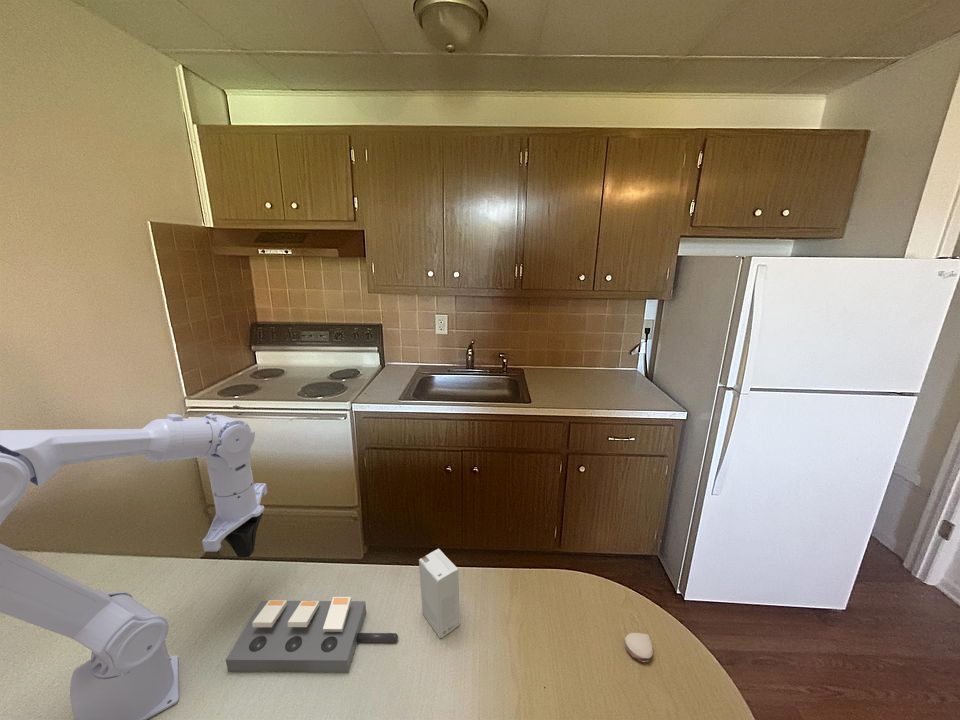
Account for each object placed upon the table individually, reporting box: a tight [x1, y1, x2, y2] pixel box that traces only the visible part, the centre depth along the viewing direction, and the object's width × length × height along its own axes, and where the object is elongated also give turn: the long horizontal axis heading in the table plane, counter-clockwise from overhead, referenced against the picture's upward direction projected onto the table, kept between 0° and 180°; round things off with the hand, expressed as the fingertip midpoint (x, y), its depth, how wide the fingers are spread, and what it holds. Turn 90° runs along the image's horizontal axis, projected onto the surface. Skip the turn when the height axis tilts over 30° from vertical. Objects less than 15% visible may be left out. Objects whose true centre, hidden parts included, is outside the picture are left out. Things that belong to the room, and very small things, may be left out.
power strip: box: [225, 599, 399, 674], centre depth 63 cm, size 25×10×3 cm, turn 91°
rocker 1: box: [288, 600, 320, 627], centre depth 63 cm, size 3×5×1 cm, turn 1°
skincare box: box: [418, 548, 461, 639], centre depth 65 cm, size 6×4×12 cm
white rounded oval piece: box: [623, 632, 654, 663], centre depth 62 cm, size 4×5×2 cm
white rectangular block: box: [252, 599, 288, 627], centre depth 63 cm, size 3×5×1 cm, turn 1°
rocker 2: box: [323, 596, 352, 632], centre depth 63 cm, size 3×5×1 cm, turn 1°
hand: (245, 554), depth 67 cm, fingers closed
